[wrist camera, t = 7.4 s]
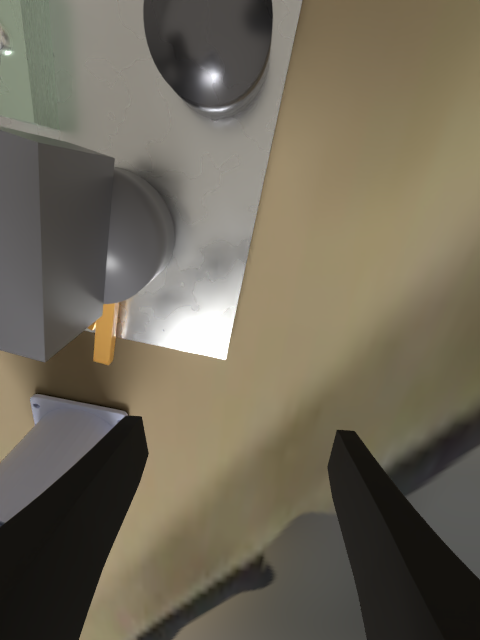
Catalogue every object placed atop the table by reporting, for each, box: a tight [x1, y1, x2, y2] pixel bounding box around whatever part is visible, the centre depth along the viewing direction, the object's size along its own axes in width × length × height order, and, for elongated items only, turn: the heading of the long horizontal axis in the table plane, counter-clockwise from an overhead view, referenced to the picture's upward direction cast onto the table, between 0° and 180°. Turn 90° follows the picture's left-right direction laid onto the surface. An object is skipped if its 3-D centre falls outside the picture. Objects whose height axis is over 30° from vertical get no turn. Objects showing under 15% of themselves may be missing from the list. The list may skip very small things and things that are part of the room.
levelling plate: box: [0, 0, 302, 359], centre depth 13 cm, size 18×20×4 cm
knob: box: [0, 126, 175, 365], centre depth 12 cm, size 6×12×7 cm, turn 163°
